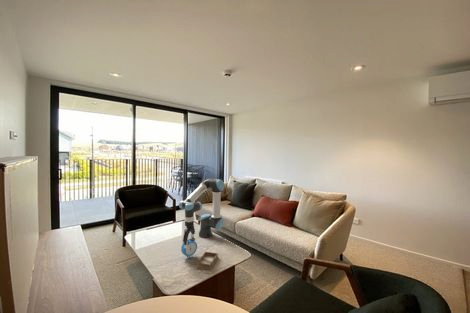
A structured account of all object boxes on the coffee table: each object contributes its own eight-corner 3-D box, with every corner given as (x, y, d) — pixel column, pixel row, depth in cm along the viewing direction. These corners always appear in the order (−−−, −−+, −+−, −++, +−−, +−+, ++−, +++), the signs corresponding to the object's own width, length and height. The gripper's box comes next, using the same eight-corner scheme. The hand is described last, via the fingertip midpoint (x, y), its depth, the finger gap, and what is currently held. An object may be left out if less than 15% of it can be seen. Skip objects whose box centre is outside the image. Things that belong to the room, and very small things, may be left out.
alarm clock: (184, 259, 169) (184, 242, 168) (180, 256, 173) (180, 239, 173) (197, 253, 178) (197, 237, 177) (193, 251, 182) (193, 235, 182)
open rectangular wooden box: (205, 255, 179) (205, 251, 179) (217, 257, 176) (217, 253, 176) (196, 267, 160) (196, 263, 160) (210, 270, 158) (210, 265, 158)
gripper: (191, 215, 187) (191, 237, 188) (178, 225, 163) (178, 251, 164) (198, 216, 185) (198, 238, 186) (187, 226, 161) (186, 252, 162)
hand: (189, 244), depth 175 cm, fingers closed on alarm clock, 13 cm apart
